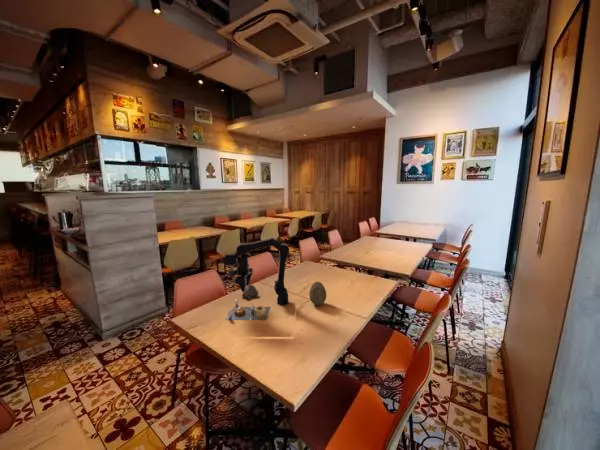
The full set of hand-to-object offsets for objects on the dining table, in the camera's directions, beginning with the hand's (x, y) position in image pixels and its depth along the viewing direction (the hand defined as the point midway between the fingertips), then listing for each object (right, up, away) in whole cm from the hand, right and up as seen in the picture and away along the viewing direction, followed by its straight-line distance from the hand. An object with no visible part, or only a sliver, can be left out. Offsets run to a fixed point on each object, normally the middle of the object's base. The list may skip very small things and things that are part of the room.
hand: (245, 288), depth 148 cm
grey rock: (0, -11, +17) cm, 20 cm away
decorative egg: (+45, -12, +4) cm, 47 cm away
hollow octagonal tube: (+11, -13, -8) cm, 19 cm away
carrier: (+4, -14, -6) cm, 16 cm away
